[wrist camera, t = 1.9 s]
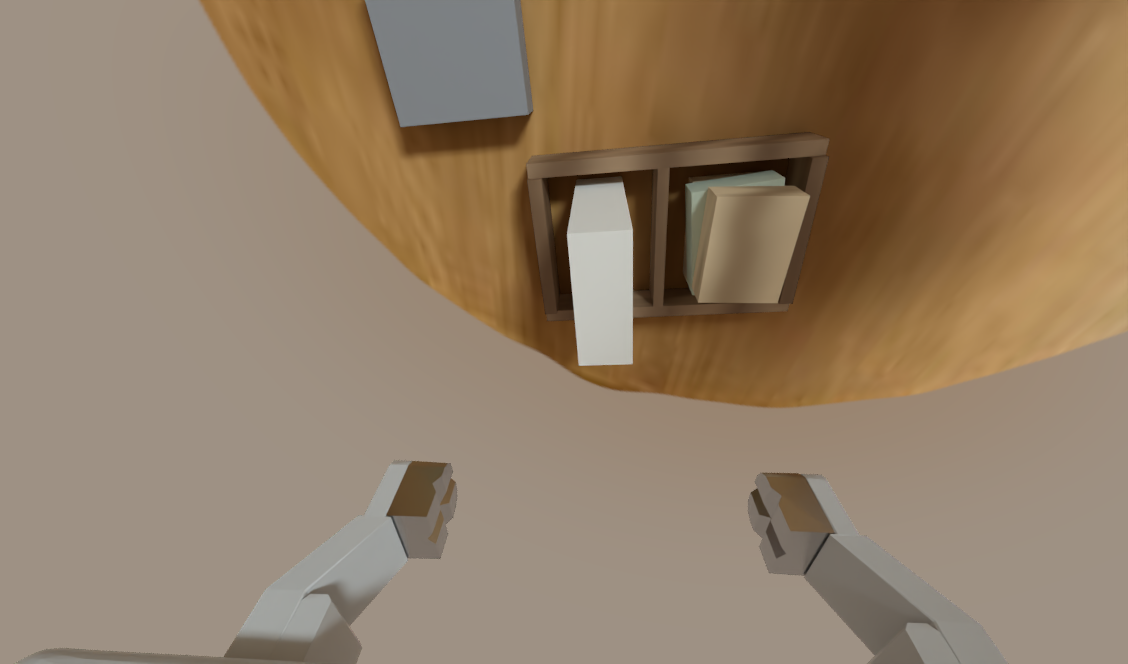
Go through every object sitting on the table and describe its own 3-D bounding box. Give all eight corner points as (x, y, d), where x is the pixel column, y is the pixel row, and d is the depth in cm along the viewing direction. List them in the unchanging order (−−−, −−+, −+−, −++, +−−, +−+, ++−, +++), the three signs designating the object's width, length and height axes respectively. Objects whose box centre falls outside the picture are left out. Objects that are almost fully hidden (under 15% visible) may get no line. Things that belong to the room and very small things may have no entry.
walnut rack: (809, 132, 29) (833, 140, 26) (774, 293, 36) (790, 314, 33) (531, 155, 31) (525, 165, 28) (550, 304, 38) (546, 324, 35)
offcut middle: (772, 169, 29) (785, 178, 27) (762, 272, 33) (773, 285, 31) (685, 183, 30) (691, 192, 28) (686, 281, 34) (692, 295, 32)
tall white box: (621, 176, 31) (632, 229, 21) (622, 280, 36) (632, 364, 26) (576, 179, 32) (566, 233, 22) (583, 283, 37) (578, 365, 27)
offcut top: (794, 185, 27) (810, 195, 25) (765, 287, 31) (777, 303, 29) (708, 186, 27) (717, 196, 25) (691, 287, 32) (698, 302, 30)
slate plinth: (513, -59, 24) (505, -70, 22) (533, 110, 29) (528, 114, 27) (371, -39, 25) (351, -48, 23) (414, 122, 30) (400, 127, 28)
